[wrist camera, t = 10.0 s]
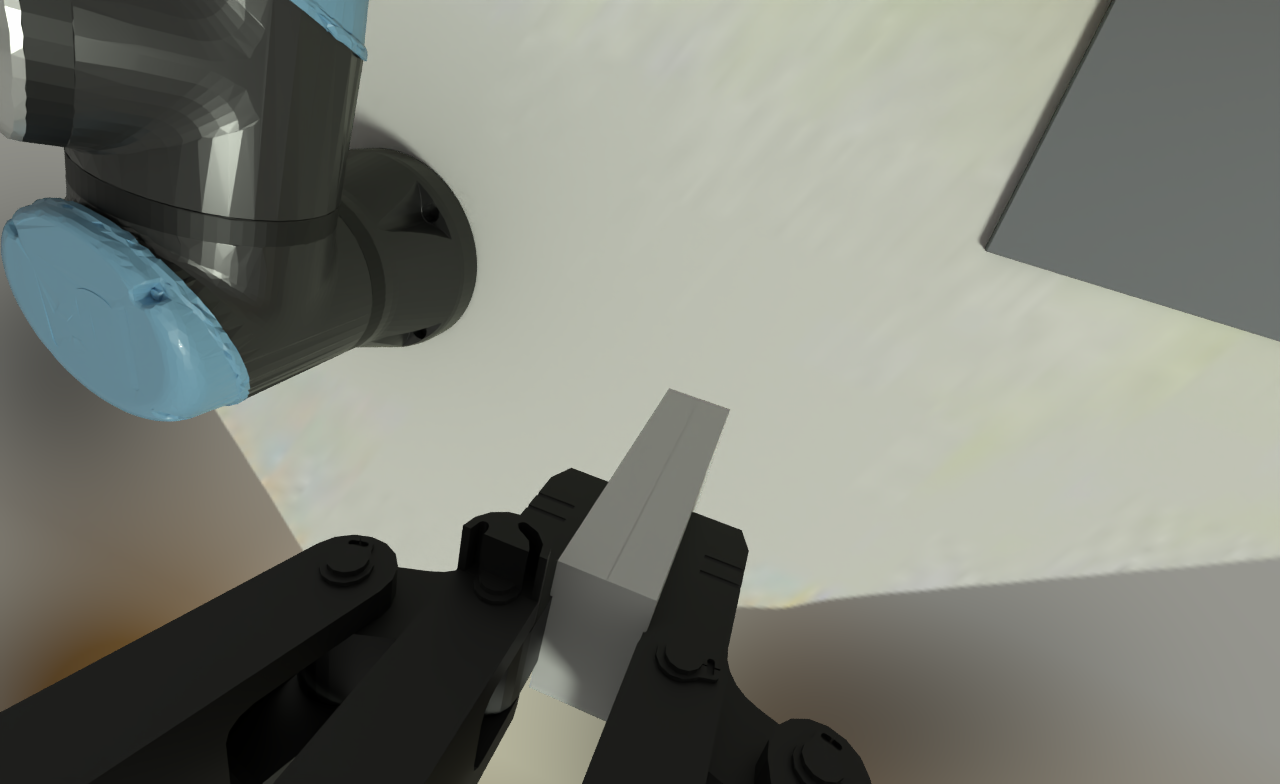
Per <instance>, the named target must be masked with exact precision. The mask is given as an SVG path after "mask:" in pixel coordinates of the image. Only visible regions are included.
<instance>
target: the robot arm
mask: <svg viewBox="0 0 1280 784" xmlns="http://www.w3.org/2000/svg"><path fill="white" fill-rule="evenodd" d="M368 2H369V0H0V133H2V134H3V135H4V136H5V137H6V138H8V139H12V140H17V141H22V142H29V143H37V144H45V145H52V146H60V147H64V152H65V168H66V197H65V199H61V198H43V199H38V200H36V201H35V202H34V203H33V204H32V205H28V206H25V207H22V208H20V209H19V210H17V211H16V212H15V214H14V215H13V217H12V219H10V220H8V221H7V223H6V224H5V226H4V228H3V232H2V237H1V255H2V261H3V265H4V269H5V273H6V276H7V279H8V282H9V284H10V287H11V290H12V292H13V295H14V297H15V299H16V301H17V303H18V305H19V307H20V308H21V310H22V312H23V313H24V316H25V317H26V319H27V320H28V322H29V324H30V325H31V327H32V328H33V330H34V331H35V333H36V334H37V336H38V337H39V338H40V340H41V341H42V342H43V343H44V345H45V346H46V347H47V348H48V349H49V350H50V351H51V353H52V354H53V356H54V357H55V358H56V359H57V360H58V361H59V362H60V363H61V365H62V366H63V367H65V369H66V370H67V371H68V372H70V374H71V375H73V376H74V377H75V378H76V379H77V380H78V381H79V382H81V383H82V384H83V385H84V386H85V387H86V388H88V389H89V390H90V391H92V392H93V393H95V394H96V395H97V396H99V397H100V398H102V399H103V400H105V401H107V402H108V403H110V404H112V405H114V406H115V407H117V408H119V409H121V410H123V411H125V412H128V413H130V414H132V415H136V416H139V417H142V418H146V419H150V420H155V421H179V420H186V419H189V418H192V417H195V416H198V415H200V414H203V413H206V412H208V411H211V410H214V409H217V408H219V407H222V406H231V405H234V404H238V403H240V402H242V401H244V400H245V399H246V398H249V397H251V396H253V395H255V394H257V393H259V392H261V391H263V390H266V389H268V388H270V387H272V386H274V385H276V384H278V383H280V382H283V381H285V380H287V379H289V378H291V377H293V376H295V375H298V374H300V373H302V372H304V371H306V370H308V369H310V368H312V367H315V366H317V365H319V364H321V363H323V362H325V361H327V360H329V359H332V358H334V357H336V356H338V355H340V354H342V353H344V352H346V351H348V350H351V349H353V348H355V347H405V346H411V345H415V344H419V343H422V342H424V341H427V340H429V339H431V338H433V337H435V336H437V335H439V334H441V333H443V332H444V331H446V330H447V329H449V328H450V327H451V326H453V325H454V324H455V323H456V322H457V321H458V320H459V319H460V317H461V316H462V315H463V313H464V312H465V310H466V308H467V307H468V305H469V302H470V300H471V298H472V295H473V291H474V287H475V282H476V274H477V257H476V248H475V243H474V238H473V234H472V231H471V228H470V225H469V222H468V220H467V217H466V215H465V213H464V211H463V209H462V207H461V205H460V204H459V202H458V200H457V199H456V197H455V196H454V194H453V193H452V191H451V190H450V189H449V187H448V186H447V185H446V184H445V183H444V182H443V180H442V179H441V178H440V177H439V176H438V175H437V174H435V173H434V172H433V171H432V170H431V169H430V168H428V167H427V166H426V165H424V164H423V163H421V162H420V161H418V160H416V159H415V158H413V157H411V156H409V155H407V154H404V153H401V152H398V151H395V150H390V149H383V148H366V149H351V150H349V145H350V139H351V133H352V127H353V121H354V115H355V109H356V102H357V96H358V90H359V84H360V78H361V72H362V65H363V60H364V61H367V57H368V55H367V50H366V48H365V46H364V44H365V32H366V22H367V12H368ZM729 411H730V409H727V408H724V407H721V406H719V405H716V404H713V403H710V402H707V401H704V400H701V399H698V398H695V397H693V396H690V395H687V394H684V393H681V392H678V391H675V390H672V389H670V388H669V390H668V391H667V393H666V394H665V396H664V397H663V399H662V400H661V402H660V403H659V405H658V407H657V408H656V410H655V411H654V413H653V414H652V416H651V417H650V419H649V420H648V422H647V424H646V425H645V427H644V428H643V430H642V431H641V433H640V434H639V436H638V437H637V439H636V441H635V442H634V444H633V445H632V447H631V448H630V450H629V451H628V453H627V454H626V456H625V458H624V459H623V461H622V462H621V464H620V465H619V467H618V468H617V470H616V471H615V473H614V475H613V476H612V478H611V479H610V481H609V482H607V481H605V480H602V479H599V478H597V477H594V476H592V475H589V474H586V473H584V472H581V471H578V470H576V469H573V468H570V469H568V470H566V471H564V472H561V473H559V474H557V475H555V476H553V477H551V478H550V479H549V481H548V482H547V483H546V484H545V485H544V487H543V488H542V489H541V490H540V492H539V494H538V495H536V496H535V498H534V499H533V500H532V501H531V503H530V504H529V506H528V508H526V509H525V510H524V511H523V512H522V514H521V515H519V514H515V513H510V512H491V513H487V514H484V515H480V516H477V517H474V518H473V519H472V520H470V521H469V522H467V523H466V524H464V525H463V530H462V538H461V545H460V553H459V560H458V568H457V570H456V571H448V572H433V571H423V570H416V569H408V568H400V567H398V565H397V559H396V554H395V553H394V552H393V550H392V549H391V548H390V547H389V546H388V545H387V544H386V543H384V542H382V541H379V540H377V539H375V538H373V537H368V536H360V535H348V536H339V537H334V538H331V539H328V540H326V541H323V542H320V543H318V544H316V545H314V546H312V547H310V548H308V549H306V550H304V551H303V552H301V553H299V554H297V555H295V556H293V557H292V558H290V559H288V560H286V561H284V562H282V563H280V564H278V565H276V566H274V567H273V568H271V569H269V570H267V571H265V572H263V573H261V574H259V575H258V576H256V577H254V578H252V579H250V580H248V581H246V582H244V583H243V584H241V585H239V586H237V587H235V588H233V589H231V590H229V591H227V592H226V593H224V594H222V595H220V596H218V597H216V598H214V599H212V600H211V601H209V602H207V603H205V604H203V605H201V606H199V607H198V608H196V609H194V610H192V611H190V612H188V613H186V614H184V615H183V616H181V617H179V618H177V619H175V620H173V621H171V622H169V623H167V624H165V625H164V626H162V627H160V628H158V629H156V630H154V631H152V632H150V633H149V634H147V635H145V636H143V637H141V638H139V639H137V640H136V641H134V642H132V643H130V644H128V645H126V646H124V647H122V648H120V649H119V650H117V651H115V652H113V653H111V654H109V655H107V656H105V657H103V658H102V659H100V660H98V661H96V662H95V663H92V664H91V665H88V666H87V667H85V668H83V669H81V670H79V671H77V672H75V673H74V674H72V675H70V676H68V677H66V678H64V679H62V680H60V681H58V682H57V683H55V684H53V685H51V686H49V687H47V688H45V689H43V690H42V691H40V692H38V693H36V694H34V695H32V696H30V697H28V698H27V699H25V700H23V701H21V702H19V703H17V704H15V705H13V706H11V707H10V708H8V709H6V710H4V711H2V712H0V784H477V783H478V781H479V780H480V778H481V776H482V774H483V772H484V770H485V769H486V767H487V765H488V763H489V761H490V759H491V757H492V756H493V754H494V752H495V750H496V748H497V747H498V745H499V743H500V741H501V739H502V738H503V736H504V734H505V732H506V730H507V728H508V727H509V725H510V723H511V721H512V719H513V717H514V714H515V710H516V707H517V704H518V698H519V694H520V692H521V690H522V688H523V687H524V685H525V683H526V681H527V680H528V678H529V676H530V674H531V672H532V671H533V672H532V676H531V681H530V685H529V687H530V688H532V689H534V690H536V691H539V692H541V693H543V694H545V695H548V696H550V697H552V698H554V699H557V700H559V701H561V702H564V703H566V704H568V705H570V706H573V707H575V708H577V709H579V710H582V711H584V712H586V713H588V714H590V715H593V716H595V717H597V718H600V719H602V720H604V721H606V724H605V727H604V729H603V732H602V734H601V737H600V739H599V742H598V745H597V747H596V749H595V752H594V755H593V757H592V760H591V762H590V765H589V767H588V770H587V772H586V775H585V777H584V780H583V783H582V784H871V780H870V778H869V775H868V773H867V771H866V768H865V766H864V764H863V762H862V760H861V758H860V756H859V755H858V754H857V753H856V752H855V750H854V749H853V748H852V747H851V745H850V744H849V743H848V742H847V740H846V739H844V738H843V737H841V736H840V735H838V733H836V732H835V731H834V730H832V729H831V728H829V727H828V726H826V725H823V724H820V723H818V722H815V721H813V720H810V719H790V720H788V721H786V722H784V723H782V724H778V723H777V722H775V721H774V720H773V719H771V718H770V717H769V716H767V715H766V714H765V713H763V712H762V711H761V710H760V709H758V708H757V707H756V706H755V705H754V704H753V703H752V702H751V701H749V700H748V699H747V698H746V697H745V696H744V694H743V693H742V692H741V690H740V689H739V688H738V686H737V685H736V683H735V681H734V679H733V677H732V675H731V673H730V670H729V665H728V661H727V657H728V646H729V641H730V636H731V632H732V627H733V622H734V618H735V613H736V608H737V604H738V599H739V594H740V588H741V585H742V580H743V575H744V574H743V573H744V570H745V566H746V561H747V556H748V552H749V550H748V547H747V544H746V542H745V539H744V536H743V533H742V530H739V529H737V528H734V527H732V526H729V525H726V524H724V523H721V522H718V521H716V520H713V519H710V518H708V517H705V516H702V515H700V514H697V513H695V510H696V507H697V505H698V502H699V499H700V496H701V493H702V490H703V487H704V484H705V481H706V479H707V476H708V473H709V470H710V467H711V464H712V461H713V458H714V455H715V452H716V449H717V446H718V443H719V441H720V438H721V435H722V432H723V429H724V426H725V423H726V420H727V417H728V414H729Z"/></svg>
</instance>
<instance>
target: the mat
mask: <svg viewBox="0 0 1280 784" xmlns="http://www.w3.org/2000/svg"><path fill="white" fill-rule="evenodd" d="M985 251H987V252H990V253H993V254H997V255H1000V256H1003V257H1006V258H1010V259H1013V260H1016V261H1019V262H1023V263H1026V264H1029V265H1032V266H1036V267H1039V268H1042V269H1045V270H1049V271H1052V272H1055V273H1058V274H1062V275H1065V276H1068V277H1071V278H1075V279H1078V280H1081V281H1084V282H1088V283H1091V284H1094V285H1097V286H1101V287H1104V288H1107V289H1111V290H1114V291H1117V292H1120V293H1124V294H1127V295H1130V296H1133V297H1137V298H1140V299H1143V300H1146V301H1150V302H1153V303H1156V304H1159V305H1163V306H1166V307H1169V308H1172V309H1176V310H1179V311H1182V312H1185V313H1189V314H1192V315H1195V316H1198V317H1202V318H1205V319H1208V320H1211V321H1215V322H1218V323H1221V324H1224V325H1228V326H1231V327H1234V328H1237V329H1241V330H1244V331H1247V332H1251V333H1254V334H1257V335H1260V336H1264V337H1267V338H1270V339H1273V340H1277V341H1280V0H1112V2H1111V4H1110V6H1109V8H1108V10H1107V12H1106V14H1105V16H1104V18H1103V20H1102V22H1101V24H1100V26H1099V28H1098V30H1097V31H1096V33H1095V35H1094V37H1093V39H1092V41H1091V43H1090V45H1089V47H1088V49H1087V51H1086V53H1085V55H1084V57H1083V59H1082V61H1081V63H1080V65H1079V67H1078V69H1077V70H1076V72H1075V74H1074V76H1073V78H1072V80H1071V82H1070V84H1069V86H1068V88H1067V90H1066V92H1065V94H1064V96H1063V98H1062V100H1061V102H1060V104H1059V106H1058V108H1057V109H1056V111H1055V113H1054V115H1053V117H1052V119H1051V121H1050V123H1049V125H1048V127H1047V129H1046V131H1045V133H1044V135H1043V137H1042V139H1041V141H1040V143H1039V145H1038V147H1037V148H1036V150H1035V152H1034V154H1033V156H1032V158H1031V160H1030V162H1029V164H1028V166H1027V168H1026V170H1025V172H1024V174H1023V176H1022V178H1021V180H1020V182H1019V184H1018V186H1017V187H1016V189H1015V191H1014V193H1013V195H1012V197H1011V199H1010V201H1009V203H1008V205H1007V207H1006V209H1005V211H1004V213H1003V215H1002V217H1001V219H1000V221H999V223H998V225H997V226H996V228H995V230H994V232H993V234H992V236H991V238H990V240H989V242H988V244H987V246H986V248H985Z"/></svg>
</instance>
